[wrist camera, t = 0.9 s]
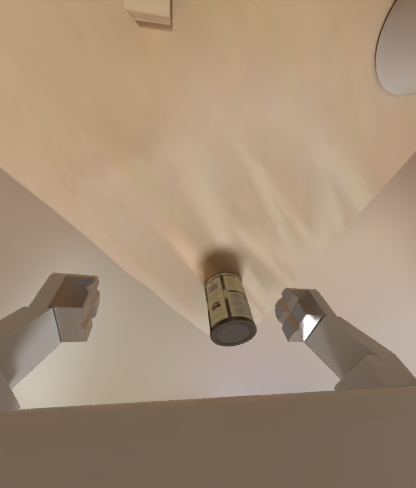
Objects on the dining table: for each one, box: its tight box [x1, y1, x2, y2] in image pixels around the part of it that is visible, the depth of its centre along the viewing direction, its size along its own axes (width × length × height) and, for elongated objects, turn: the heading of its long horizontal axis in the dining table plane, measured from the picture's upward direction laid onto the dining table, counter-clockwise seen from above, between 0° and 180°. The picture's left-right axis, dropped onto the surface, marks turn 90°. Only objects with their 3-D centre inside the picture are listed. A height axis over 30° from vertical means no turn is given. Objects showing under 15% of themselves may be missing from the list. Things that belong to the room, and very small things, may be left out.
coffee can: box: [205, 273, 257, 346], centre depth 54 cm, size 10×10×14 cm
